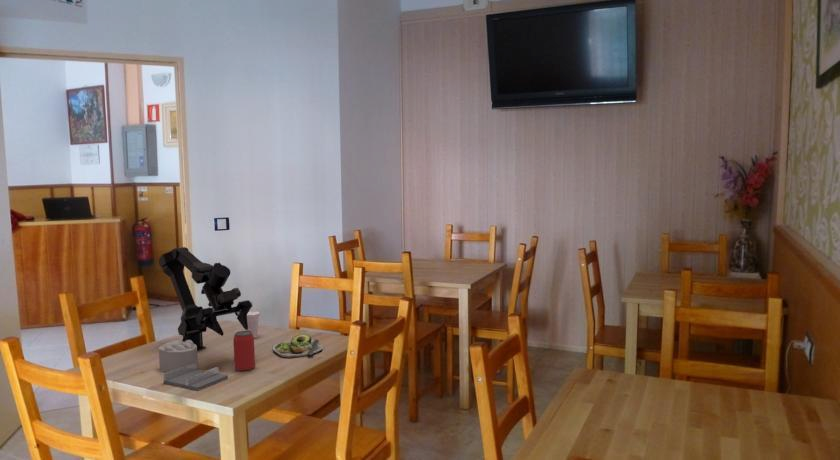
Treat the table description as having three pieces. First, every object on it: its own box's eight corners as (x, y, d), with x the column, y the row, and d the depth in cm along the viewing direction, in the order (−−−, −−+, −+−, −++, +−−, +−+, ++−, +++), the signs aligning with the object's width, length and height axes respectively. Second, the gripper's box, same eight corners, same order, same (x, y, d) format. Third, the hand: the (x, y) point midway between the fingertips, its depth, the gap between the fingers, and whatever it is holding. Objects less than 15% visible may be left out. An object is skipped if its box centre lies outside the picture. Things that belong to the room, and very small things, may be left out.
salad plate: (332, 355, 218) (332, 342, 218) (283, 363, 210) (282, 350, 210) (315, 342, 235) (315, 330, 235) (269, 349, 227) (268, 337, 227)
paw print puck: (183, 360, 214) (181, 336, 214) (206, 367, 207) (204, 341, 206) (155, 368, 206) (153, 343, 205) (178, 375, 198) (176, 349, 198)
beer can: (231, 368, 205) (229, 333, 203) (249, 363, 209) (247, 329, 208) (240, 372, 200) (239, 336, 199) (259, 368, 204) (257, 332, 203)
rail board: (194, 371, 202) (194, 362, 202) (227, 378, 195) (227, 369, 194) (163, 383, 191) (163, 373, 191) (197, 390, 184) (197, 380, 184)
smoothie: (264, 336, 244) (262, 301, 243) (251, 340, 239) (250, 304, 237) (252, 334, 247) (251, 300, 246) (240, 338, 242) (238, 303, 241)
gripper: (198, 285, 202) (218, 323, 195) (247, 277, 216) (267, 312, 209) (187, 306, 208) (206, 343, 201) (236, 296, 222) (255, 331, 215)
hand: (235, 332), depth 207 cm, fingers open, 9 cm apart
